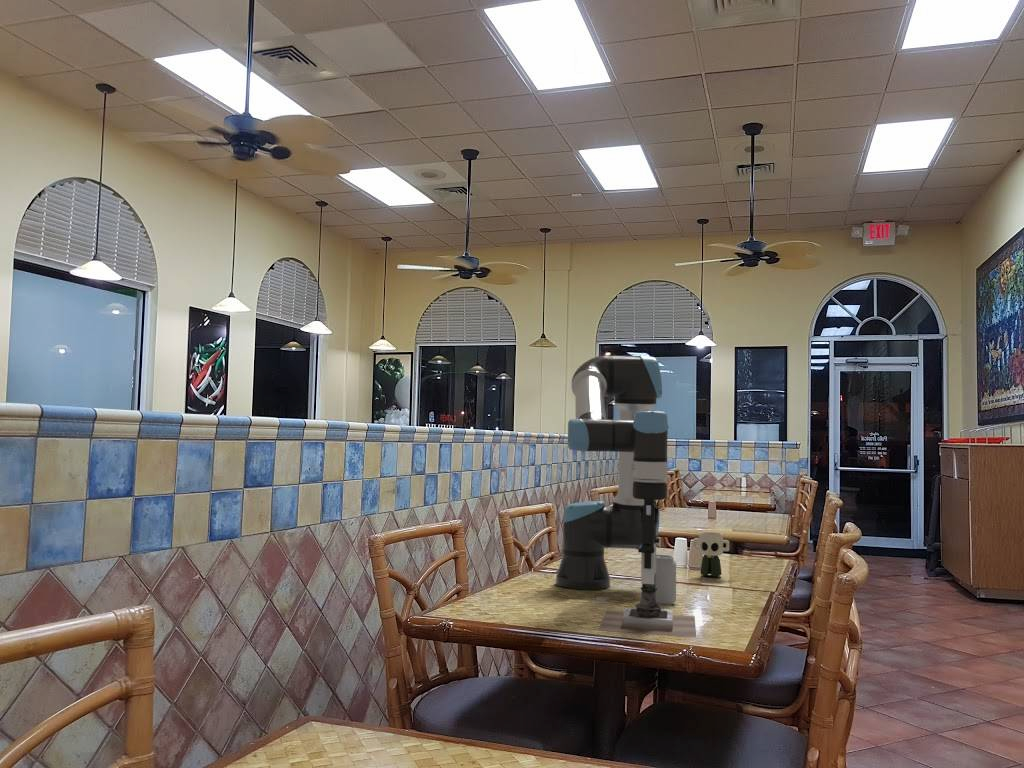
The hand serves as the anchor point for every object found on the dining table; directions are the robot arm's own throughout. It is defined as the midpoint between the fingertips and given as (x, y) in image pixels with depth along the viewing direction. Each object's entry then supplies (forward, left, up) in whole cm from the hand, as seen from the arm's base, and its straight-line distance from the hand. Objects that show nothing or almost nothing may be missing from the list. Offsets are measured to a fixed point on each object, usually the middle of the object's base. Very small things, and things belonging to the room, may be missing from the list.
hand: (648, 577), depth 176 cm
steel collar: (0, 0, -10) cm, 10 cm away
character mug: (-74, +16, -11) cm, 76 cm away
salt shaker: (0, 0, -10) cm, 10 cm away
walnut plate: (0, 0, -11) cm, 11 cm away
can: (-28, +2, -11) cm, 30 cm away
